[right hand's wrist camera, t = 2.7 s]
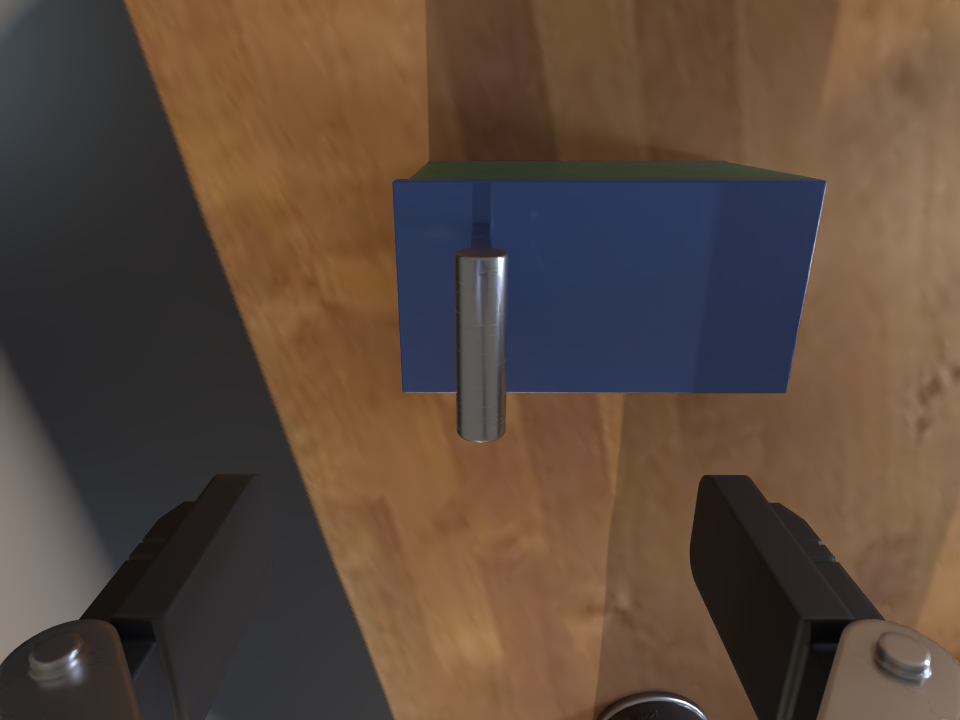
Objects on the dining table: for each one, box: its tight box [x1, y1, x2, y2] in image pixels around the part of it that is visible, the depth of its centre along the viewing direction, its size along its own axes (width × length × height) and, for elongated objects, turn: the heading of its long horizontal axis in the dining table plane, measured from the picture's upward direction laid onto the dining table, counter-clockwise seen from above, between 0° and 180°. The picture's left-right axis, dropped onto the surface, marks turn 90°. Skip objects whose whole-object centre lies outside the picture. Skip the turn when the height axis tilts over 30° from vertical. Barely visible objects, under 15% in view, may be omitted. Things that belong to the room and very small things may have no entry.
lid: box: [393, 179, 827, 442], centre depth 23 cm, size 17×9×8 cm, turn 90°
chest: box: [410, 161, 814, 179], centre depth 32 cm, size 16×9×10 cm, turn 90°
